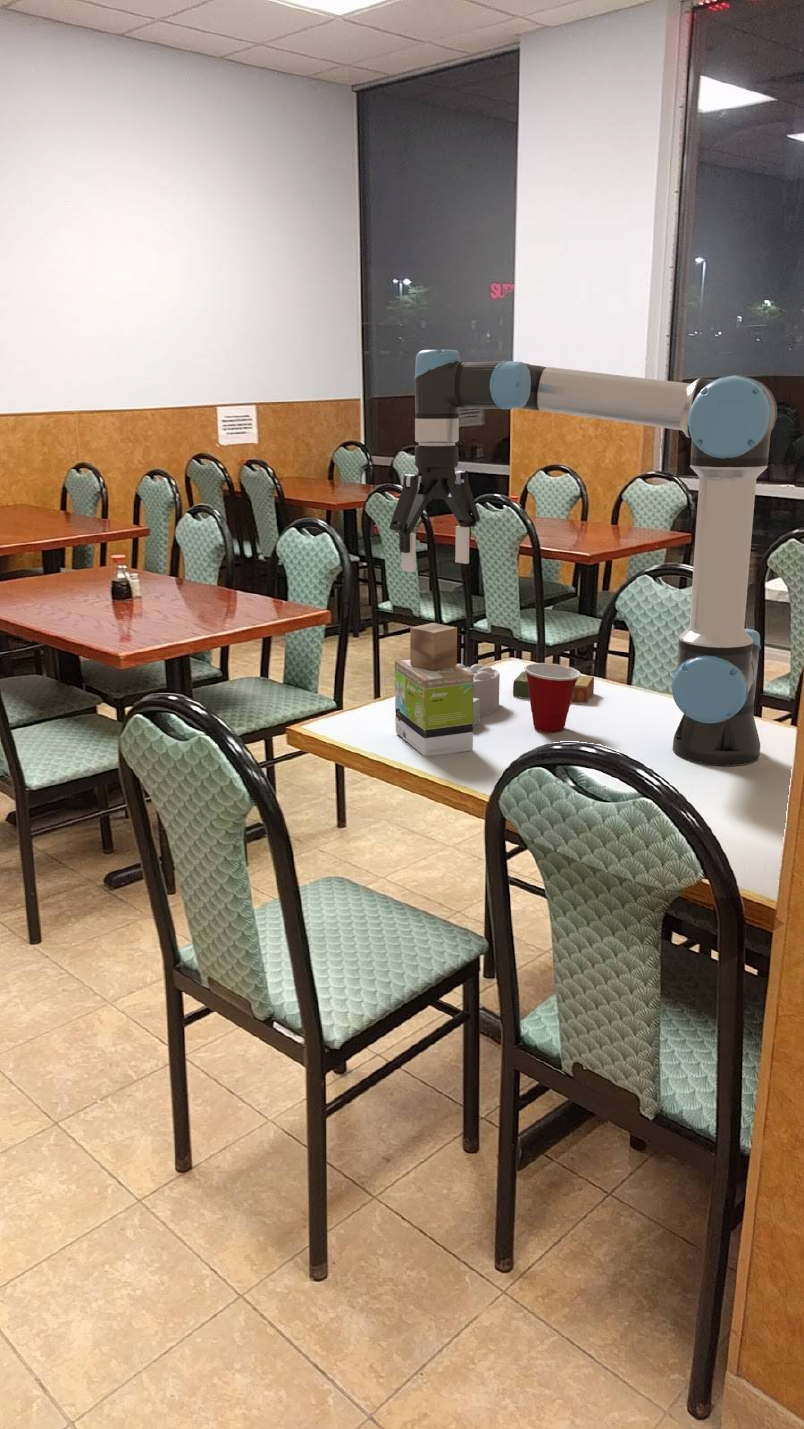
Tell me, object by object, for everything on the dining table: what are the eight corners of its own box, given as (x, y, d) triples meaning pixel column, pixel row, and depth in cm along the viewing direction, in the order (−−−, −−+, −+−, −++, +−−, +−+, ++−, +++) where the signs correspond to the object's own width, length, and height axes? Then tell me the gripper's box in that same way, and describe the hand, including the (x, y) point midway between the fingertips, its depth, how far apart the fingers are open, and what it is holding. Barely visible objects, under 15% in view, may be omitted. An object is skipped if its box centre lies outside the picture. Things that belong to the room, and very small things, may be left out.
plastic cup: (577, 738, 203) (579, 676, 200) (519, 735, 206) (521, 674, 202) (579, 722, 214) (582, 663, 210) (524, 719, 216) (526, 660, 212)
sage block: (479, 723, 213) (479, 698, 212) (467, 729, 209) (467, 704, 208) (456, 719, 216) (457, 695, 215) (444, 725, 212) (445, 701, 210)
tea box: (393, 734, 206) (393, 659, 202) (441, 728, 210) (442, 654, 206) (423, 758, 193) (423, 678, 189) (474, 751, 197) (476, 672, 192)
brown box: (456, 665, 198) (457, 627, 196) (433, 671, 194) (434, 632, 192) (433, 659, 202) (433, 622, 200) (410, 665, 198) (410, 627, 196)
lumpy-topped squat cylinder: (430, 707, 224) (431, 667, 221) (477, 697, 231) (478, 657, 229) (463, 719, 216) (464, 677, 213) (511, 708, 224) (512, 667, 221)
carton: (586, 705, 227) (587, 685, 225) (512, 698, 232) (512, 679, 230) (593, 694, 234) (594, 675, 233) (521, 688, 239) (521, 669, 238)
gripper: (469, 441, 197) (468, 557, 203) (368, 446, 181) (369, 572, 187) (500, 442, 192) (498, 561, 198) (399, 447, 176) (399, 577, 182)
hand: (435, 567), depth 193 cm, fingers open, 13 cm apart
